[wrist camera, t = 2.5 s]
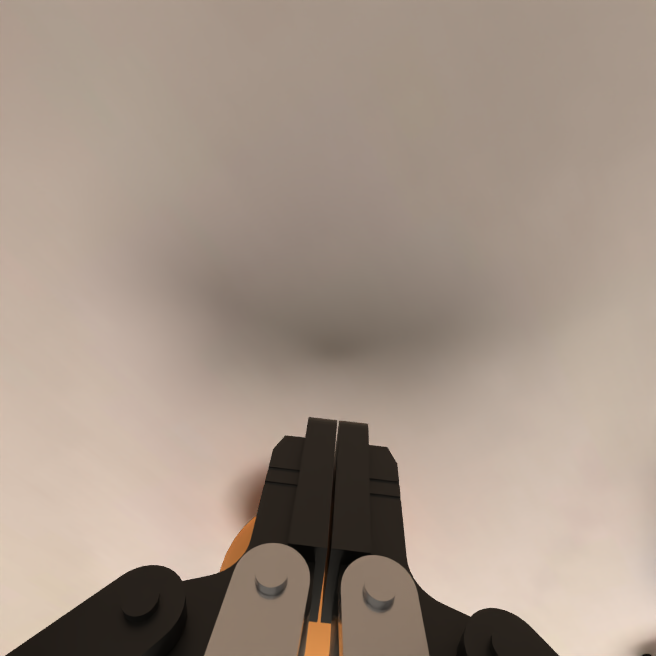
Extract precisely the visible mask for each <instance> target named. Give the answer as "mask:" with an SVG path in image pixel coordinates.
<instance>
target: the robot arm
mask: <svg viewBox="0 0 656 656" xmlns="http://www.w3.org/2000/svg"><path fill="white" fill-rule="evenodd" d="M336 429H337V420H330V419H321V418H312V417H309V419H308V425H307V431H306V437H305V438H303V437H294V436H286V435H285V436H284V438H283V439H282V440H281V441H280V442H279V443H278V444H277V446H276V447H275V448H274V449H273V452H272V456H271V460H270V464H269V470H268V472H267V476H266V480H265V485H264V488H263V492H262V496H261V500H260V504H259V508H258V512H257V516H256V520H255V524H254V528H253V532H252V536H251V540H250V543H249V546H248V547H247V549H246V551H245V553H244V554H243V555H242V557H241V558H240V559H239V560H238V561H237V562H236V563H234V564H233V565H232V566H231V567H229V568H227V569H226V570H224V571H221V572H219V573H217V574H213V575H210V576H205V577H200V578H195V579H190V580H185V581H182V580H181V579H180V577H179V576H178V575H177V574H176V573H175V572H174V571H172V570H171V569H169V568H166V567H164V566H158V565H149V566H142V567H139V568H136V569H133V570H131V571H129V572H127V573H125V574H124V575H122V576H121V577H119V578H118V579H116V580H115V581H113V582H112V583H110V584H109V585H107V586H106V587H105V588H103V589H102V590H100V591H99V592H97V593H96V594H94V595H93V596H91V597H90V598H89V599H87V600H86V601H84V602H83V603H81V604H80V605H78V606H77V607H75V608H74V609H73V610H71V611H70V612H68V613H67V614H65V615H64V616H62V617H61V618H59V619H58V620H57V621H55V622H54V623H52V624H51V625H49V626H48V627H46V628H45V629H43V630H42V631H40V632H39V633H38V634H36V635H35V636H33V637H32V638H30V639H29V640H27V641H26V642H24V643H23V644H22V645H20V646H19V647H17V648H16V649H14V650H13V651H11V652H10V653H8V654H7V655H6V656H304V655H305V649H306V641H307V633H308V625H309V621H310V622H317V621H318V613H319V606H320V599H321V592H322V585H323V597H322V610H321V623H329V624H331V634H330V651H329V656H559V655H558V654H557V653H556V652H555V651H554V650H553V649H552V648H551V647H550V646H549V645H548V644H547V643H546V642H545V641H544V640H543V639H542V638H541V637H540V636H539V635H538V634H537V633H536V632H535V631H534V630H533V629H532V628H531V627H530V626H529V625H528V624H527V623H526V622H525V621H523V620H522V619H521V618H519V617H518V616H516V615H514V614H512V613H510V612H508V611H505V610H502V609H497V608H486V609H482V610H479V611H477V612H476V613H474V614H473V615H472V616H471V617H470V616H468V615H466V614H463V613H461V612H459V611H457V610H455V609H453V608H451V607H448V606H446V605H444V604H442V603H440V602H438V601H436V600H435V599H433V598H432V597H431V596H429V595H428V594H427V593H426V592H425V591H424V590H423V589H422V588H421V587H420V586H419V585H418V584H417V582H416V581H415V579H414V578H413V576H412V574H411V572H410V570H409V567H408V563H407V557H406V547H405V537H404V527H403V517H402V507H401V501H400V487H399V477H398V467H397V462H396V461H395V459H394V458H393V456H392V454H391V453H390V451H389V449H388V448H387V447H381V446H373V445H369V436H368V424H365V423H357V422H348V421H339V426H338V434H337V441H336ZM335 442H336V449H335ZM334 456H335V457H334ZM323 578H324V584H323Z"/></svg>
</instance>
